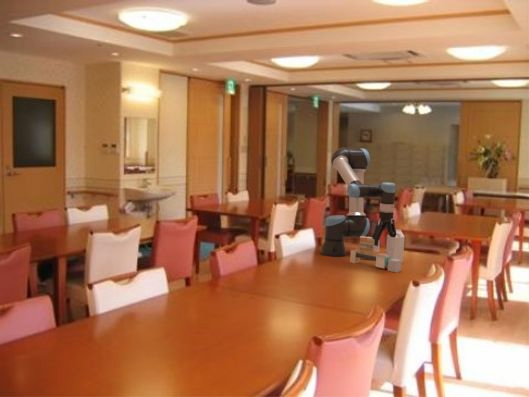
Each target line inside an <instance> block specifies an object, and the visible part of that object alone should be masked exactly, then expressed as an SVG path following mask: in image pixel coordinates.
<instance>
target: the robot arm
mask: <svg viewBox="0 0 529 397" xmlns="http://www.w3.org/2000/svg"><path fill="white" fill-rule="evenodd" d="M330 162H331V165H332V167H333V169H334V170H336V171H337V172H338V174H339V175H340V177H341V178H342V180H343V181H344V183H345V185H346V186H347V187H346V193H347V196H348V197H349V198H348V201H349V202H348V206H349V207H348V208H349V209H348V213H347V214H346V216H345V215H343V214H342V215H341V214H340V215H338V214H336V215H329V216H327V217H326V218H325V223H324V226H325V228H324V241H323V244H322V247H321V249H320V254H322V255H324V256H326V257H327V256H328V257H346V256H347V250H346V249H347V248H346V246H345V238H360V237H361V236H364V237H367V235H368V233H369V231H370V228H371V227H370V225H371V223H370V219H369V218H368V217H367V214H366V213H365V212H364V202H365V201H364V198H367V199H368V198H369V199H380V201H379V212H378V213H379V214H378V218H379V219H380V220H377V221H376V225H375V228H374V230H373V233H372V238H373V239H375V241H374V252H376V253H379V252H380V244H381V239H380V238H381V236H382V234H383V232H384V231H385V230H387V233H388V234H389V235H390V236H389V239H388V248H389V249H393V240H394V237H396V229H397V228H396V224H395V219H394V210H395V200H396V199H395V198H396V190H397V189H396V186H397V185H396V184H395V183H394V182H382V183H381V184H380V183H373V184H371V183H369V184H368V183H365V182H364V178H365V176H364V174H365V172H366V171H367V168H369V167H370V164H371V157H370V152H369V151H368V150H367V149H365V148H362V147H361V148H360V147H340V148H338V149H336V150H334V152H333V153H332V155H331V158H330ZM393 232H394V233H393Z"/></svg>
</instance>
